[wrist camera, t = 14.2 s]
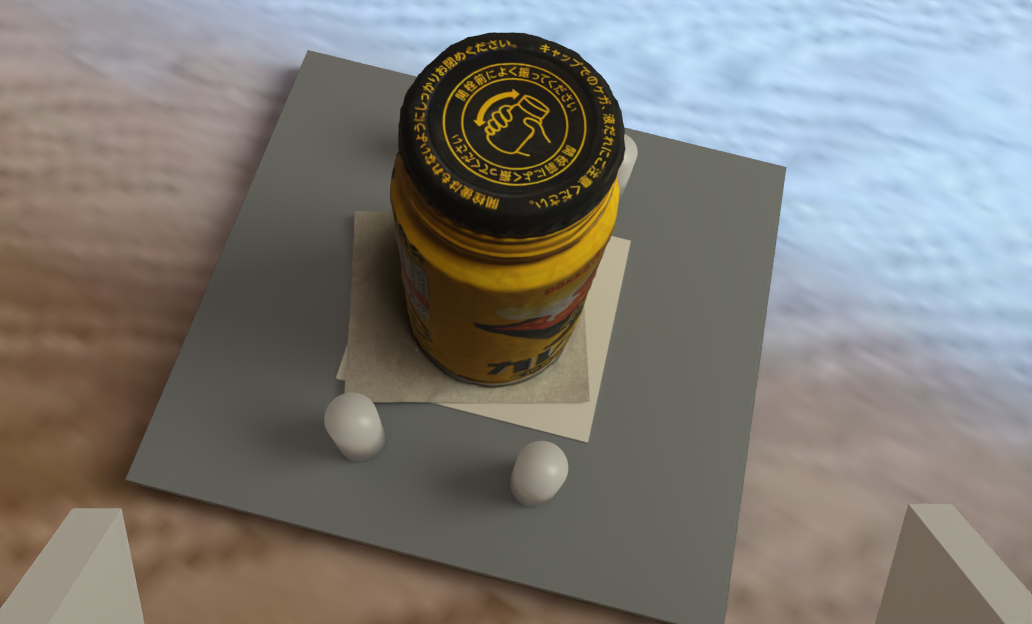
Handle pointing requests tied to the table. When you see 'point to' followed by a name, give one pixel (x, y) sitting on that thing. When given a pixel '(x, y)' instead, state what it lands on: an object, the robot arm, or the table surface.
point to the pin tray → (483, 426)
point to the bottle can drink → (488, 230)
